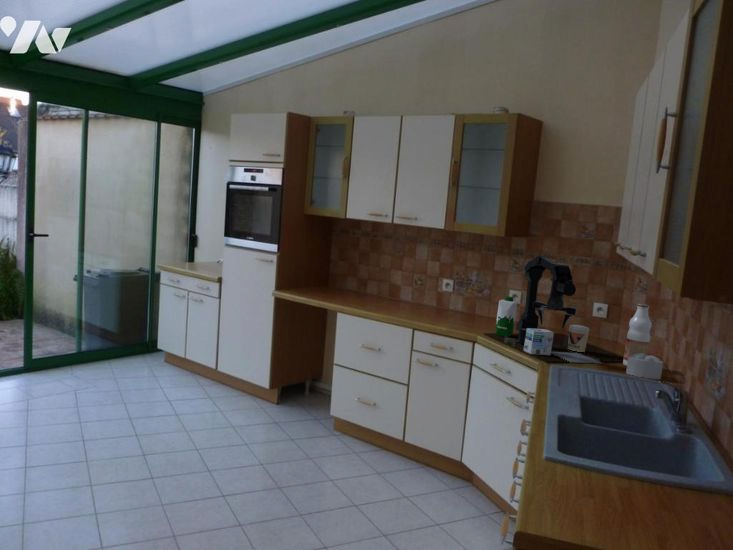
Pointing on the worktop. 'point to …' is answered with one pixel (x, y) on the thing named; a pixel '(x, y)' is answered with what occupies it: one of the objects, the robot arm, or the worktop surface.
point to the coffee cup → (578, 338)
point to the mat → (575, 357)
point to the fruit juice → (638, 333)
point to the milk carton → (506, 317)
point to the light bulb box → (538, 341)
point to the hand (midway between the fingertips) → (552, 326)
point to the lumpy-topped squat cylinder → (644, 366)
